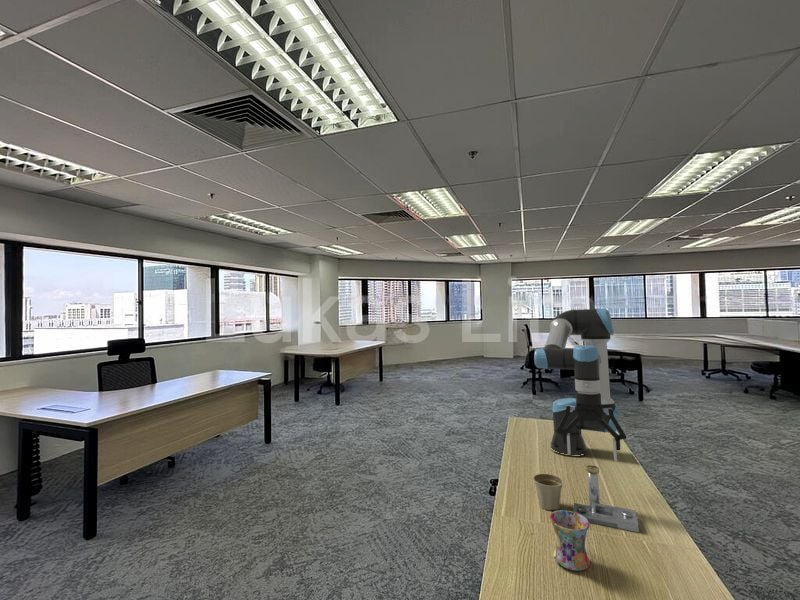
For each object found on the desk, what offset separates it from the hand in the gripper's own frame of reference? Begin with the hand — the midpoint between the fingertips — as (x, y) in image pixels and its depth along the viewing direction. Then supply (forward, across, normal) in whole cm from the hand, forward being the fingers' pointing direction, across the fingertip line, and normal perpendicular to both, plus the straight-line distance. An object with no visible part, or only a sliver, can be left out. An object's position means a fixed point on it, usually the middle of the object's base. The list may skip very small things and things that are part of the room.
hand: (591, 456), depth 120 cm
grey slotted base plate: (+16, +2, -8) cm, 18 cm away
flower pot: (+16, -13, -6) cm, 22 cm away
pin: (+16, 0, 0) cm, 16 cm away
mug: (+16, -6, -32) cm, 36 cm away
